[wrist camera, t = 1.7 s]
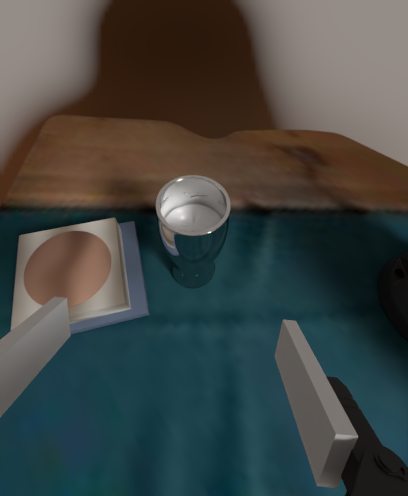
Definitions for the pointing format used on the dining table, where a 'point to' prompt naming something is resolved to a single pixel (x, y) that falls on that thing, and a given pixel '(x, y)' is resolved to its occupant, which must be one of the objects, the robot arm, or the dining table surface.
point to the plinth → (72, 271)
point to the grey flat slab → (134, 286)
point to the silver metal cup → (193, 226)
